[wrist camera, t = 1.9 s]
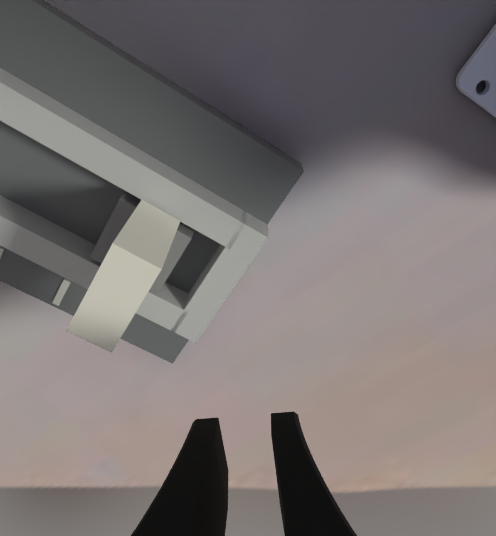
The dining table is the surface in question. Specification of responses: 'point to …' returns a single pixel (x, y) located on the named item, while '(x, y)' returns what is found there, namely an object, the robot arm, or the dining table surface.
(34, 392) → the dining table surface
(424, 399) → the dining table surface
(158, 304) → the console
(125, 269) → the fader
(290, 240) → the dining table surface
